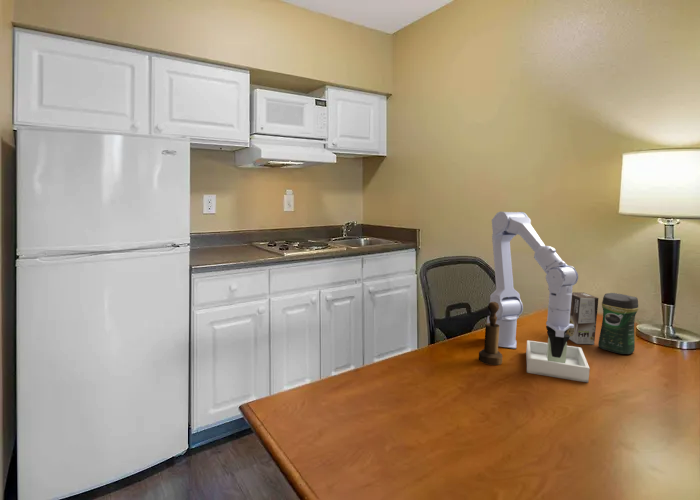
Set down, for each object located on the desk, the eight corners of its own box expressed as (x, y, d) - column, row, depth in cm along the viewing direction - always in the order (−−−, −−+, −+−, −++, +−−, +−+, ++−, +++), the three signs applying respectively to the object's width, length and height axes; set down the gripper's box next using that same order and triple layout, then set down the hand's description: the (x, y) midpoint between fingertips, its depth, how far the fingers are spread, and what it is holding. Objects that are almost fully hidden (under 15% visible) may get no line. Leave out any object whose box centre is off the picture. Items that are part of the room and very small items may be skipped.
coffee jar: (638, 352, 132) (644, 296, 130) (625, 357, 128) (631, 298, 126) (606, 343, 141) (611, 290, 139) (593, 347, 137) (598, 292, 134)
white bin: (526, 372, 115) (527, 358, 114) (526, 352, 131) (527, 340, 130) (588, 382, 109) (589, 368, 109) (580, 360, 125) (581, 347, 124)
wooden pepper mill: (498, 357, 126) (502, 299, 124) (504, 366, 119) (508, 305, 117) (476, 356, 126) (480, 299, 124) (481, 364, 120) (484, 304, 118)
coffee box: (595, 344, 139) (599, 298, 137) (576, 344, 139) (580, 297, 137) (580, 336, 148) (584, 292, 146) (562, 335, 148) (566, 291, 147)
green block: (547, 360, 118) (549, 340, 118) (546, 355, 123) (548, 335, 122) (565, 363, 117) (567, 342, 116) (563, 357, 121) (565, 338, 120)
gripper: (578, 316, 110) (574, 365, 111) (572, 304, 123) (568, 348, 125) (549, 313, 112) (545, 360, 114) (546, 301, 126) (542, 344, 127)
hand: (555, 353), depth 119 cm, fingers closed on green block, 4 cm apart
